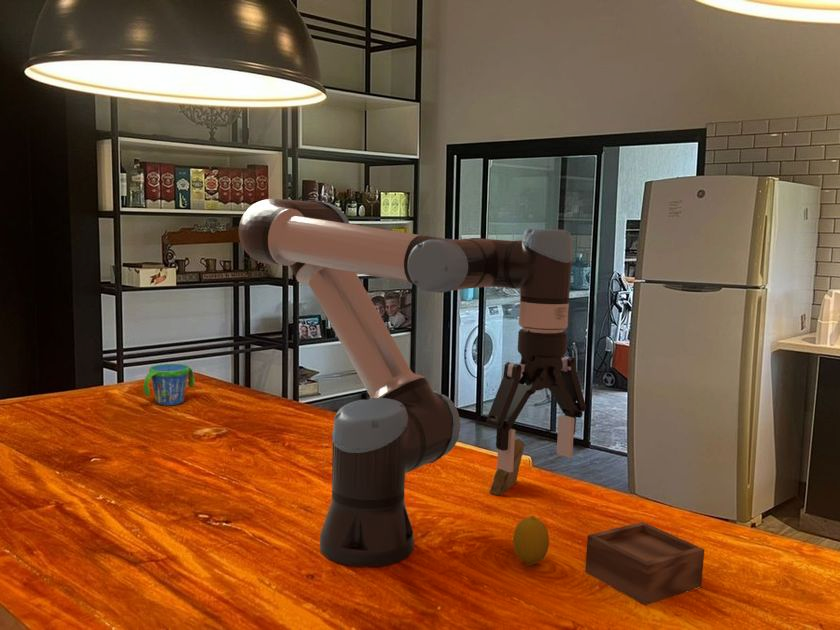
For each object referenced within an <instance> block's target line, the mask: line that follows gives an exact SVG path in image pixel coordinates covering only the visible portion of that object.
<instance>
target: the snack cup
mask: <svg viewBox="0 0 840 630" xmlns="http://www.w3.org/2000/svg"><path fill="white" fill-rule="evenodd" d="M150 380H151V382H152V389H153V395H154V400H155V403H156V404H157V405H159V406H160V405H161V406H176V405H180V404H183V403H184V401H185V396H186V387H187V386H188V387H189V388H194V387H195V383H196V381H195V380H196V379H195V375H194V371H193V369H192V368H191V367H189V366H188V365H186V364H182V363H181V364H180V363H164V364H162V363H161V364H157V365H153V366H150V367H149V371H148V373H147V374H146V376H145V378H144V381H143V385H142V386H143V387H142V391H143V395H145V396H146V397H149V396H150V395H151V391H150V385H149V384H150V383H149V382H150Z"/></svg>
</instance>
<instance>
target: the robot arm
mask: <svg viewBox="0 0 840 630" xmlns="http://www.w3.org/2000/svg"><path fill="white" fill-rule="evenodd" d="M238 238H239V241H240V244H241V246H242V247H241V248H243V250H244V251H245V253H246V254H248V257H249V256H250V258H252V259H254V260H255V261H257V262H259V263H262V264H266V265H281V266H285V267H286V266H287V267H289V269H290V270H291V272H292V273H293V275H294V277H295V280H296V281H297V282H298V283H299V284H300V283H301V284H303V285H306V286H309V287H310V289H311V291H312V292H313V294H314V297H315V298H316V300H317V302H318V304H319V305H320V307H321V309H322V311H323V313H324V315H325V317H326V319H327V320H328V322H329V324H330V325H331V327H332V330H333V332H334V333H335V335H336V337H337V339H338V341H339V342H340V344H341V346H342V348H343V350H344V351H345V353H346V355H347V357H348V358H349V360H350V362H351V364H352V366H353V368H354V370H355V371H356V373H357V376H358V377H359V379H360V380H361V383H362V384H363V386H364V388H365V390H366V392H367V393H368V395H369V398H368V399H359V400H358V399H357V400H354V401H351V402H349V403H346V404H345V405H343V406H341V407H340V408H339V409H338V410H337V411H336V414H335V415H334V419H333V429H332V432H331V441H332V454H331V455H332V457H331V458H332V461H331V462H332V467H331V468H332V472H331V473H332V475H331V476H332V477H331V503H330V505H329V508H328V511H327V513H326V516H325V519H324V522H323V526H322V529H321V530H320V534H319V549H320V552H321V554H322V555H323V556H324V557H325V558H327V559H329V560H331V561H333V562H335V563H338V564H342V565H346V566H354V567H360V568H361V567H365V568H366V567H368V568H370V567H381V566H382V567H383V566H387V565H388V566H389V565H392V564H395V563H398V562H401V561H403V560H405V559H407V558H408V557H409V556H410V555H412V553H413V552H414V544H415V542H414V541H415V540H414V539H415V536H414V535H415V534H414V530H413V527H412V524H411V519H410V518H409V514H408V510H407V507H406V503H405V488H406V483H405V482H406V474H407V473H410V472H412V471H414V470H416V469H419V468H421V467H423V466H425V465H427V464H433V463H435V462H437V461H439V459H442V458H443V457H444V456H446V455H447V454H449V453H450V452H451V451H452V450H453V449H454V448H455V446H456V444H457V442H458V440H459V437H460V435H459V434H460V431H461V419H460V415H459V412H458V409H457V407H456V405H455V404H454V402H453V401H452V400H451V399H450V398H449V397H448V396H446V395H445V394H443V393H440V392H438V391H433V389H432V388H431V385H430V384H429V382H428V380H427V379H426V377H425V376H424V375H421V374H418V373H417V374H416V373H414V372H413V371H412V370H411V368H410V365H409V364H408V362H407V361H406V358H404V355H403V353H402V352H401V350H400V348H399V347H398V345H397V343H396V341H395V339H394V337H393V336H392V334H391V333H390V330H389V328H388V327H387V325H386V324H385V322H384V320H383V319H382V317H381V315H380V313H379V311H378V309H377V308H376V306H375V304H374V302H373V301H372V299H371V297H370V296H369V294H368V292H367V289H365V287H364V285H363V283H362V281H361V280H360V278H359V276H358V275H359V274H360V275H365V276H370V277H375V278H381V279H386V280H390V281H397V282H401V283H407V284H411V285H415V286H416V287H418V289H420V290H422V291H424V292H431V293H432V292H433V293H447V292H452V291H458V290H465V289H476V288H486V287H491V288H493V287H494V288H507V289H520V296H519V297H520V298H519V311H518V313H519V314H518V325H519V326H520V328H521V329H519V330H518V336H517V352H518V353H519V354H520V361H519V363H514V362H509V361H507V362H506V363H504V368H503V377H502V379H501V381H500V385H499V387H498V389H497V391H496V394H495V397H494V399H493V402H492V404H491V407H490V409H489V411H488V414H487V418H486V422H485V423H486V424H487V425H490V426H492V427H495V428H496V435H495V436H496V437H495V438H496V439H495V447H496V449H497V459H496V460H497V463H496V464H497V465H496V469H497V468H499V469H502V470H504V471H507V472H513V466H514V446H515V439H516V429H514V428H512V427H513V426H514V424H515V422H516V421H517V419H518V417H519V416H520V414H521V412H522V411H523V409H524V407H525V405H526V404H527V402H528V400H529V398H530V397H531V396H532V395H534V394H535V393H536V391H542V390H543V389H547V390H549V391H550V393H551V395H552V397H553V398H554V400H555V401H556V403H557V406H558V407H559V409H560V410H561V411H562V414H559V415H558V423H557V424H558V426H557V437H556V439H557V442H556V454H557V455H559V456H561V457H565V458H568V459H570V458H573V453H574V452H573V451H574V436H575V433H576V428H577V427H576V426H577V418H579V419H581V418H582V417H583V412H585V411H586V410H587V405H586V404H587V403H586V401H585V397H584V394H583V390H582V386H581V384H580V380H579V377H578V372H577V367H576V366H577V360H576V358H575V357H572V356H567V355H566V354H567V350H568V348H567V347H568V333H567V332H566V331H565V330H566V329H567V328H568V326H569V325H568V324H569V309H570V308H569V305H570V291H571V281H572V280H571V277H572V268H573V267H572V266H573V260H574V259H573V237H572V234H571V232H570V231H568V230H565V229H551V228H550V229H548V228H547V229H545V228H526V229H525V230H524V231H523V236H522V238H521V239H522V240H508V239H507V240H505V239H495V238H494V239H492V238H491V239H490V238H481V237H470V238H461V239H455V238H454V239H452V238H444V237H443V238H442V237H438V236H430V235H422V234H415V233H408V232H403V231H397V230H390V229H384V228H377V227H371V226H365V225H359V224H354V223H352V224H351V223H350V221H349V219H348V217H347V215H346V214H345V213H344V211H342V210H341V209H340V208H339V207H337V206H336V205H334V204H332V203H330V202H324V201H321V200H315V199H309V200H296V199H294V200H293V199H281V198H267V199H263V200H260V201H257V202H255V203H254V204H252V205H250V206H249V207H248V208H247V210H245V212H244V213H243V214H242V217H241V218H240V221H239V225H238ZM357 274H358V275H357Z"/></svg>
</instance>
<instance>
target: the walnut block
mask: <svg viewBox="0 0 840 630" xmlns="http://www.w3.org/2000/svg"><path fill="white" fill-rule="evenodd" d="M586 539H587V540H586V552H585V553H586V556H585V572H584V573H586V574H588V575H589V576H591V577H593V578H595V579H597V580H599V581H600V582H603V584H606V585H608V586H610V587H611V588H613V589H615V590H617V591H619V592H620V593H622V594H624V595H626V596H627V597H629V598H631V599H632V600H634V601H636V602H638V603H640V604H641V605H643V606H647V605H650V604H654V603H657V602H660V601H663V600H666V599H670V598H672V597H675V596H679V595H681V594H684V593H688V592H691V591H694V590H696V589H695V588H697V589H699V588H698V587H700V586H701V587H702V586H703V585H702V583H703V572H704V571H703V570H704V558H705V548H702V547H700V546H698V545H696V544H693V543H691V542H689V541H688V540H684V539H682V538H681V537H678V536H675V535H673V534H671V533H669V532H667V531H665V530H662V529H660V528H658V527H655V526H653V525H651V524H648V523H646V522H644V521H640V522H635V523H632V524H628V525H624V526H623V525H622V526H620V527H615V528H611V529H607V530H603V531H599V532H595V533H591V534H587V538H586ZM693 589H694V590H693ZM687 591H688V592H687Z"/></svg>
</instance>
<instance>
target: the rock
mask: <svg viewBox="0 0 840 630" xmlns="http://www.w3.org/2000/svg"><path fill="white" fill-rule="evenodd" d="M524 449H525V443H524V442H523V440H521V439H520V438H515V446H514V466H513V472H507V471H504V470H502V469H499V468H497V467H496V469H495V474H494V475H493V479H492V483H491V486H490V489H489V490H488V491H489V493H490V494H492V495H495V496H501V495H502V494H504V493H505V492H506V491H508V489H510V488H512V486H513V485H516V483H517V480H518V476H519V472H520V465H521V460H522V457H523V455H524V454H523V453H524Z"/></svg>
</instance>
